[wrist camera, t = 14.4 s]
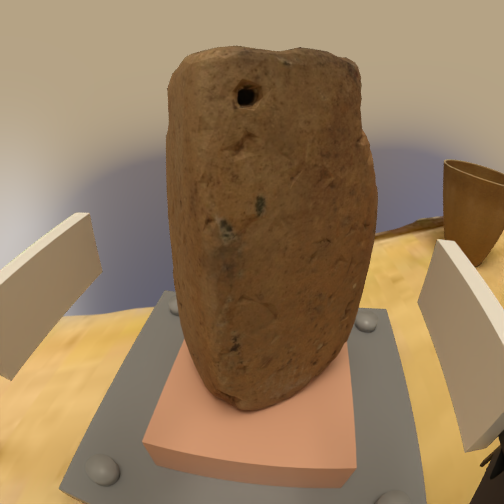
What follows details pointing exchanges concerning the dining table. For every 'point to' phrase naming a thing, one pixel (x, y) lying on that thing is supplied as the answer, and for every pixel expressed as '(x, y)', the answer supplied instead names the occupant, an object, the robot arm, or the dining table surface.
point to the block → (267, 215)
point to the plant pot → (473, 207)
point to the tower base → (169, 487)
